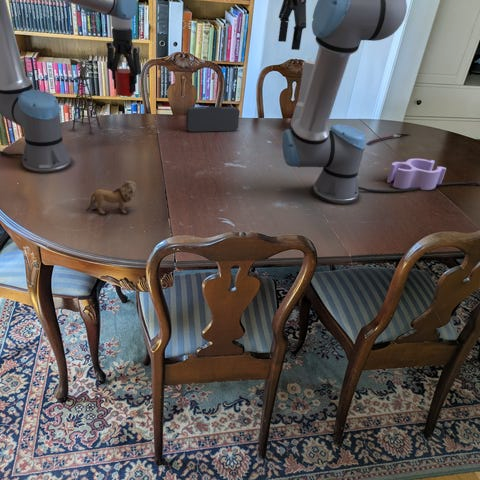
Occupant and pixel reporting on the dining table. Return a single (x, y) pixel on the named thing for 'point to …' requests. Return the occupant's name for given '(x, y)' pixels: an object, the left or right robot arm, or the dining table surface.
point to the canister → (123, 82)
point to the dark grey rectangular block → (212, 119)
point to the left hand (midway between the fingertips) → (124, 90)
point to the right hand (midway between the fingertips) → (288, 45)
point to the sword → (386, 138)
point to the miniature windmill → (82, 78)
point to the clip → (415, 174)
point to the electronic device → (303, 88)
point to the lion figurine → (114, 196)
